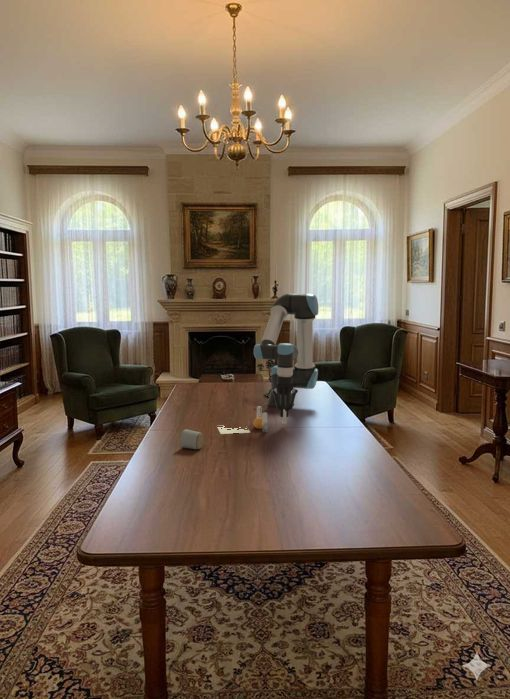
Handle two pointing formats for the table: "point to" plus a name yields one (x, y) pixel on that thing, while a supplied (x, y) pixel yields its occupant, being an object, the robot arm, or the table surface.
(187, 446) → the grey cylinder
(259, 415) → the post
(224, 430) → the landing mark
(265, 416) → the post
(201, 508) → the table surface
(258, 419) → the ball
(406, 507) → the table surface
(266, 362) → the bonsai tree
